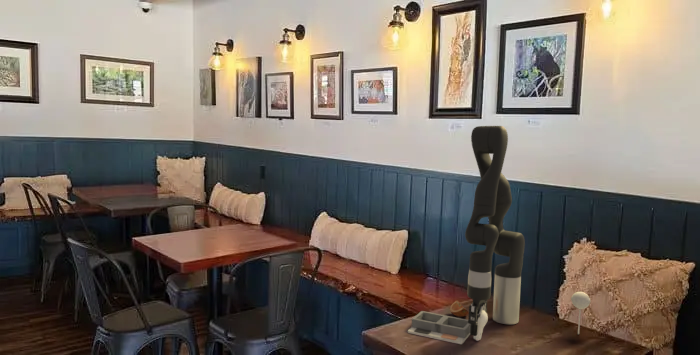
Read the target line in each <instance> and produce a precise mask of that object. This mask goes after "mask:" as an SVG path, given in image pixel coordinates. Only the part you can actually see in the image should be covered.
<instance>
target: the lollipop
mask: <svg viewBox="0 0 700 355" xmlns="http://www.w3.org/2000/svg"><path fill="white" fill-rule="evenodd" d="M570 300H571V303H572V305H573V306H574V307H575V308H576V309H579V310H578V323H577V325H578V328H577V335H580V328H581V313H582V310H584V309H586V308H588V307H589V305H591V298H590V296H589V295H588V294H587V293H585V292H584V291H576V292H574V293H573V294H572V296H571V298H570Z"/></svg>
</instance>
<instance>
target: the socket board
mask: <svg viewBox="0 0 700 355" xmlns="http://www.w3.org/2000/svg"><path fill="white" fill-rule="evenodd" d="M470 325H471V324H469V323H468V319H465V318H462V317H457V316H456V317H455V316H449V315H446V314H440V313H435V312H430V311H424V310H421V311H420V312H419V313H418V314H416V315H415V316H413V317H412V318H411V327H410V328H409V329H408V330H407V333H408V334H411V335H417V336H420V337H425V338H431V339H435V340H439V341H445V342H449V343H453V344H458V345H463V344H464V343H465V342H466V340H467V339H468V338H469V337H470V336H471V334H470Z"/></svg>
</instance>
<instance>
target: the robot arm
mask: <svg viewBox="0 0 700 355" xmlns="http://www.w3.org/2000/svg"><path fill="white" fill-rule="evenodd" d="M470 138H471V140H470V142H471V147H472V151H473V155H474V158H475V160H476V164H477V167H478V171H479V172H478V173H479V175H480V180H479V182H478V184H477V185H476V189H475V190H474V200H473V208H472V213H471V216H470V219H469V222H468V223H467V227H466V229H465V233H464V236H465V240H466V241H467V243H469V244H470V245H477V246H478V245H479V246H485V249H484V250H477V251H476V250H475V251H472V252H471V253H470V255H469V266H468V267H469V268H468V276H467V292H466V293H467V294H466V295H467V298H469V299H471V300H472V302H471V304H469V306H468V312H469V314H468V319H467V320H468V323H469V324H471V325H470V336H473V337H474V336H476V335H477V331H478V321H479V319H480V318H481V314H482V311H483V310H484V311H485V312H486V313H487V314H488V300H489V299H491V296H492V295H491V294H492V293H491V292H492V264H493V263H492V261H493V255H494V254H496V255H498V256H502V257H507V258H509V261H508V262H506V263H500V264H497V265H496V266H495V268H494V282H493V283H494V284H493V285H494V287H493V306H492V320H493V321H494V322H496V323H499V324H504V325H515V324H518V323H519V320H520V319H519V318H520V304H521V302H520V301H521V287H522V286H521V285H522V283H521V282H522V270H523V265H524V264H523V263H524V253H525V246H526V243H525V241H526V240H525V235H523V234H522V233H521V232H517V231H511V230H505V229H504V224H503V223H504V222H503V221H504V218H505V216H506V215H507V213H508V211H509V209H510V208H511V206H512V203H513V197H512V196H513V195H512V191H511V184H510V182H509V180H508V179H507V178H506V176H505V175H504V174H503V173H502V169H503V166H504V162H505V157H506V153H507V151H508V150H507V149H508V142H509V135H508V131H507V128H506V127H505V126H502V125H481V126H480V125H479V126H475V127H474V128H473V129H472V131H471V137H470ZM490 154H492V159H491V155H490ZM484 218H488V223H480V221H481V219H484ZM477 314H479V315H477ZM473 318H475V319H474V321H473Z"/></svg>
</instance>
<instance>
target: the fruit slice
mask: <svg viewBox="0 0 700 355" xmlns="http://www.w3.org/2000/svg"><path fill="white" fill-rule="evenodd" d="M449 311H450V313H451V314H452V315H453V316H456V317H458V318H463V317H466V316H469V310H467V309H466V308H465V307H464V306H463V305H462V304H461V302H459V300H458V299H457V300H455V301H454V302H452V304H451V305H450V306H449Z"/></svg>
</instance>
